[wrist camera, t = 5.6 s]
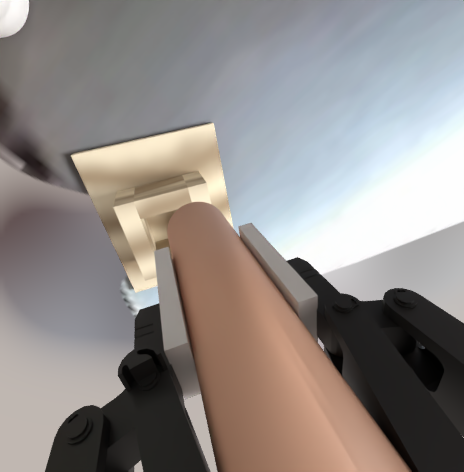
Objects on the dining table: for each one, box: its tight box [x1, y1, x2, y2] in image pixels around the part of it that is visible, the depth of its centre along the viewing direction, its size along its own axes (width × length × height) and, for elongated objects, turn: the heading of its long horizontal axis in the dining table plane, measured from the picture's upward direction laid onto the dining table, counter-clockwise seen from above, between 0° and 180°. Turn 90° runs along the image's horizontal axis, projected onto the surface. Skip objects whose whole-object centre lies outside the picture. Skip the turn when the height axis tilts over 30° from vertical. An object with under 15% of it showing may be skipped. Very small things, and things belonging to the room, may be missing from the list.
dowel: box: [167, 202, 412, 472], centre depth 11 cm, size 4×4×16 cm
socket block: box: [71, 123, 233, 292], centre depth 33 cm, size 20×16×6 cm
